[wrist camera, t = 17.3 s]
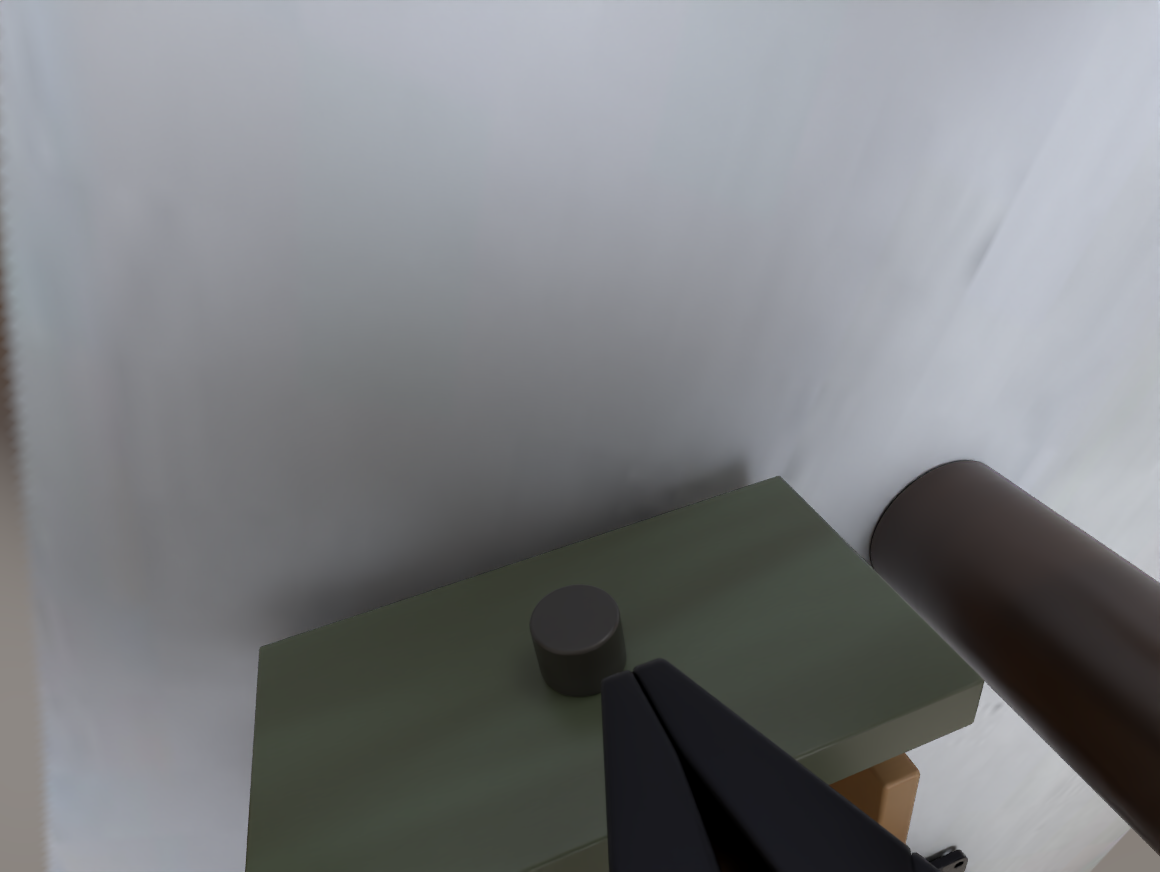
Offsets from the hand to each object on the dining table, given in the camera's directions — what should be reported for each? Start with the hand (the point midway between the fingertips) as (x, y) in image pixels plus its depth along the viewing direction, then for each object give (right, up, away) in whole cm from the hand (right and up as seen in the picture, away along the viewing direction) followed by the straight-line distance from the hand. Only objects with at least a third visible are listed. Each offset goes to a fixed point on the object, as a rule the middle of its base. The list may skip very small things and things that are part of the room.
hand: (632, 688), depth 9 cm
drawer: (-1, -4, +10) cm, 10 cm away
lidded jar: (+10, +1, +12) cm, 16 cm away
